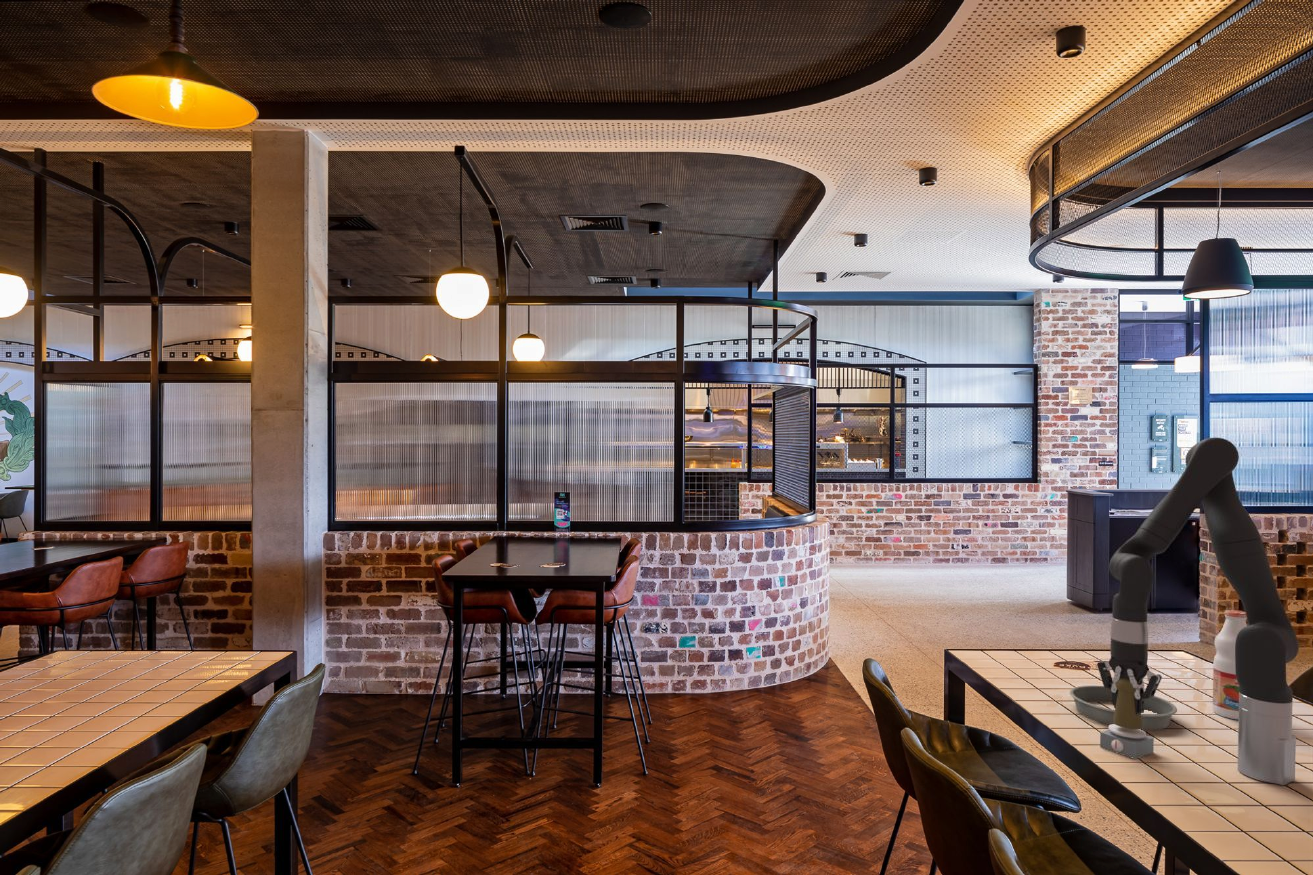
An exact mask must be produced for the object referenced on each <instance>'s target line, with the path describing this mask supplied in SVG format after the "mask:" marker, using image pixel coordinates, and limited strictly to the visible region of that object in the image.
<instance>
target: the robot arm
mask: <svg viewBox="0 0 1313 875" xmlns="http://www.w3.org/2000/svg"><path fill="white" fill-rule="evenodd" d="M1239 457H1240V456H1239V452H1238V449H1237V447H1236V446H1235V444H1233V442H1231V441H1230V440H1228V439H1225V438H1223V437H1208V438H1205V439H1202V440H1200V441H1198V442H1197V443H1195V444H1194V445H1193V446H1191V448H1189V450H1188V451H1187V453H1186V455H1185V466H1186V467H1185V469H1184V471H1183V472H1182V474H1181V475H1180V477H1179V478H1178V480H1177V482H1176V483H1175V484H1174V486H1172V488H1171V489H1170V490H1169V491H1168V493H1167V494H1166V495H1165V496H1164V497H1163V498H1162V499H1161V500H1160V502H1158V504H1157V505H1156V506H1155V507H1154V508H1153V510H1152V511H1150V513H1149V515H1148V516H1147V517H1146V518H1145V519H1144V521H1143V522H1142V523H1141V525H1140V527H1139V528H1138V530H1137V531H1136V532H1135V534H1134V535H1132V537H1130V538H1129V539H1127V540H1126V542H1125V543H1123V544H1122V545H1121V546H1120V547H1119V548H1118V549H1117V550H1116V551H1115V552H1114V554H1113V555H1112V556H1111V558H1110V561H1109V564H1108V569H1109V572H1110V573H1109V574H1111V576H1113V577H1114V578H1115V579H1116V580H1118V581H1120V582H1119V583H1120V584H1119V591H1118V593H1116V594H1115V595H1113V597H1112V598H1113V599H1112V619H1111V627H1110V631H1109V632H1110V651H1109V652H1110V658H1109V660H1108V661H1107V660H1104V661H1102V660H1101V661H1098V662H1097V669H1098V672H1099V675H1100V678H1101V682H1102V684H1103V685H1102V686H1104V687H1105V688H1109V689H1110V690H1111V691H1112V703H1111V704H1112V706H1113V709H1115V707H1116V701H1117V696H1118V689H1117V688H1116V682H1117V681H1118V680H1119V679H1120V678H1124V679H1128V680H1130V682H1131V684H1132V685H1133V688H1134V689H1136V691H1135V693H1134V695H1135V699H1134V704H1135V712H1136V714H1137V715H1139V713H1140V714H1141V713H1143V712H1144V700H1145V699H1148V698H1151V697H1154V696H1156V695H1155V694H1156V692H1157V690H1158V688H1159V685H1160V683H1161V680H1162V679H1163V677H1162V675H1161V674H1159V673H1158V674H1156V673H1154V672H1153V671H1150V668H1149V666H1148V658H1149V656H1148V655H1149V652H1148V651H1149V627H1148V601H1149V598H1150V596H1151V591H1152V588H1153V584H1154V569H1153V566H1152V564H1151V563H1150V560H1151V559H1152V558H1153V557H1155V556H1156V555H1160V554H1163V553H1164V552H1166V551H1167V549H1168V548H1169V547H1170V545H1171V544H1172V542H1174V540H1175V539H1176V537H1177V536H1178V535H1179V533H1180V532H1181V530H1182V529H1183V528H1184V526H1185V525H1186V524H1187V522H1188V521H1189V519H1190V517H1191V516H1192V515H1193V513H1194V511H1195V510H1196V509H1197V507H1198V506H1199V505H1200V504H1202V509H1203V513H1204V517H1205V523H1206V527H1207V530H1208V533H1209V534H1208V535H1209V536H1210V537H1209V538H1210V541H1211V545H1212V548H1213V552H1214V555H1215V558H1216V561H1217V564H1218V567H1219V568H1220V570H1221V572H1222V573H1223V575H1224V577H1225V579H1226V580H1227V581H1228V583H1229V584H1230V586H1231V587H1232V588H1233V590H1234V592H1236V594H1237V595H1238V597H1239V599H1240V600H1241V601H1240V602H1241V603H1242V606H1243V609H1244V612H1245V613H1246V617H1247V619H1246V621H1247V626H1246V627H1244V628H1243V629H1241V630H1240V632H1239V633H1238V635H1237V637H1236V642H1235V670H1236V679H1237V681H1238V683H1239V720H1238V721H1237V722H1238V724H1237V725H1238V732H1237V733H1238V734H1237V771H1238V772H1240V773H1241V774H1243V775H1245V776H1247V777H1249V778H1252V779H1254V780H1258V781H1261V782H1266V783H1270V784H1277V785H1281V786H1286V785H1287V784H1290V783H1291V782H1293V781H1295V780H1296V748H1297V747H1296V744H1297V743H1296V742H1297V741H1296V739H1297V737H1296V735H1295V734H1294V735H1293V706H1294V705H1293V701H1294V700H1293V698H1294V696H1293V695H1294V694H1293V693H1294V692H1293V691H1294V690H1293V689H1292V687H1291V686H1289V685H1288V681H1287V664H1288V663H1290V662H1292V661H1294V660H1295V658H1296V657H1297V656H1298V653H1299V648H1300V644H1299V639H1298V636H1297V634H1296V632H1295V629H1294V627H1293V625H1292V623H1291V621H1290V618H1289V617H1288V614H1287V612H1286V610H1285V608H1284V606H1283V604H1282V601H1281V599H1280V595H1279V592H1278V589H1277V588H1278V587H1277V586H1276V581H1275V578H1274V576H1273V572H1272V569H1271V566H1270V563H1269V562H1270V561H1269V559H1268V555H1267V551H1266V549H1265V546H1264V542H1263V539H1262V536H1261V534H1260V531H1259V529H1258V528H1257V525H1256V524H1255V522H1254V520H1253V519H1252V517H1251V516H1250V514H1249V512H1248V511H1247V510H1246V508H1245V507H1244V504H1243V503H1242V501H1241V498H1240V497H1239V494H1238V492H1237V488H1236V484H1235V481H1234V476H1233V471H1234V470H1235V469H1236V468H1237V466H1238V463H1239V459H1240V458H1239ZM1111 670H1112V671H1113V673H1114V674H1113V676H1112V674H1111ZM1146 676H1147V682H1148V683H1147V685H1146V687H1145V683H1144V678H1146ZM1138 682H1140V685H1138V684H1137V683H1138ZM1140 688H1141V691H1140Z"/></svg>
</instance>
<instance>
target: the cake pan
mask: <svg viewBox="0 0 1313 875" xmlns="http://www.w3.org/2000/svg"><path fill="white" fill-rule="evenodd" d="M1069 695H1070V696H1071V697H1072V698H1073V699H1074V703H1075V708H1076V711H1077V712H1078V713H1080V714H1081V715H1082V716H1085V717H1087V718H1088V719H1091V720H1095V721H1097V722H1099V721H1100V722H1101V723H1103V724H1106V723H1107V724H1106V725H1111V724H1114V723H1113V718H1114V712H1115V710H1114V709H1115V708H1113V710H1112V709H1111V708H1106V707H1102V706H1099V705H1097V704H1093V703H1108V702H1111V704H1112V691H1111V690H1110V689H1109V688H1105V687H1104V685H1080V686H1076V687H1075V686H1074V687H1073V688H1071V689H1070V690H1069ZM1144 710H1148V711H1152V712H1153V713H1157V714H1155V715H1151V714H1141V718H1142V726H1143V728H1142V730H1143V731H1154V730H1155V731H1156V730H1157V729H1158V730H1163V729H1166V728H1168V727H1169V726H1170V722H1171V719H1172V716H1174V715H1175V714H1177V712H1178V708H1177V706H1176V705H1175V704H1174V703H1172V702H1170V701H1168V700H1166V699H1164V698H1161V697H1159V696H1156V695H1154V697H1151V698H1148V699H1145V700H1144ZM1143 713H1144V712H1143Z"/></svg>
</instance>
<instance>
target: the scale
mask: <svg viewBox="0 0 1313 875" xmlns="http://www.w3.org/2000/svg"><path fill="white" fill-rule="evenodd" d="M1099 737H1100V738H1099V740H1100V741H1099V748H1101V749H1104V748H1105V749H1104V750H1107V751H1110V750H1112V751H1111V752H1113V751H1114V753H1116V752H1118V753H1117V754H1119V753H1120V755H1122V754H1124V755H1123V756H1125V755H1126V756H1125V757H1128V756H1129V757H1128V758H1130V757H1133V758H1134V759H1133V758H1132V759H1133V760H1138V759H1140V758H1139V757H1141V758H1143V757H1145V756H1144V755H1146V756H1148V755H1147V754H1149V755H1151V754H1153V753H1154V744H1155V740H1154V739H1155V738H1154V737H1152V736H1150V735H1147V733H1146V730H1141V729H1127V728H1123V727H1120V726H1117V725H1115V724H1111V725H1110V724H1108V729H1106V730H1103V731H1100V734H1099ZM1142 756H1143V757H1142ZM1137 758H1138V759H1137Z"/></svg>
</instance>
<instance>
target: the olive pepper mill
mask: <svg viewBox="0 0 1313 875" xmlns="http://www.w3.org/2000/svg"><path fill="white" fill-rule="evenodd" d="M1137 684H1138V685H1140V682H1138V683H1137ZM1116 688H1117V689H1118V696H1117V701H1116V707H1115V708H1114V709H1115V712H1114V718H1113V723H1114V724H1115V725H1117V726H1120V727H1123V728H1127V729H1142V728H1143V726H1142V718H1141V714H1140V713H1139V715H1137V714H1136V712H1135V704H1134V699H1135V695H1134V693H1135V691H1136V689H1134V688H1133V685H1132V684H1131V682H1130V680H1128V679H1124V678H1120V679H1119V680H1118V681H1117V682H1116ZM1140 691H1141V688H1140Z"/></svg>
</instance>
